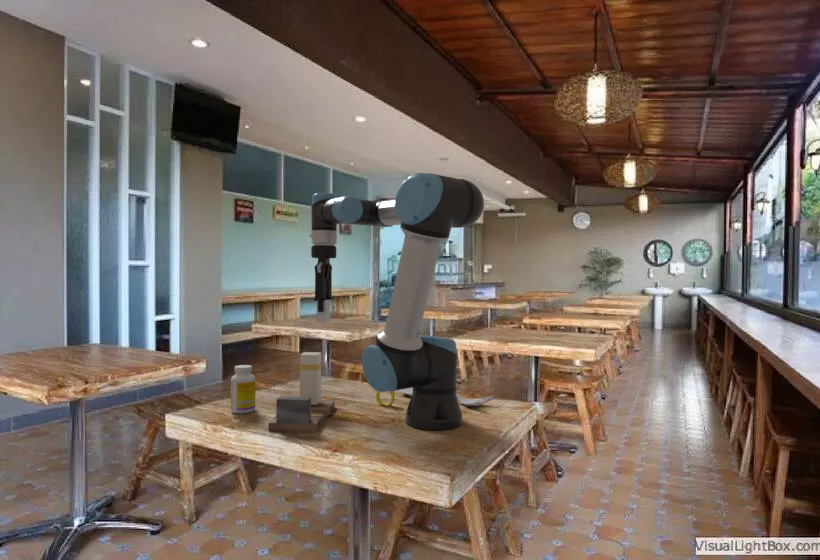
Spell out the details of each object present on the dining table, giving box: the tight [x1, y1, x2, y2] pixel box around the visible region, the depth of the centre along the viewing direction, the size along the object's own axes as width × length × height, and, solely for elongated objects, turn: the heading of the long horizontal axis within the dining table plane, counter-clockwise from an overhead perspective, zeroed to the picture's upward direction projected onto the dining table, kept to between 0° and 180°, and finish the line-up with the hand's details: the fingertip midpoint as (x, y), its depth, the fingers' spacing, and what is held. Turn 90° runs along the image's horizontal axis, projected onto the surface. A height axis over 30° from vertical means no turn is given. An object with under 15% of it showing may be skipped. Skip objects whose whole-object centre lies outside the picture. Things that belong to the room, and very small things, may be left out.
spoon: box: [399, 387, 495, 407], centre depth 163 cm, size 9×32×4 cm, turn 53°
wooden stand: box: [267, 395, 336, 433], centre depth 142 cm, size 24×12×8 cm, turn 177°
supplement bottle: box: [230, 364, 256, 415], centre depth 148 cm, size 7×7×13 cm
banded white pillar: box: [298, 351, 323, 405], centre depth 149 cm, size 5×5×14 cm
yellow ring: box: [375, 391, 396, 407], centre depth 157 cm, size 6×3×6 cm, turn 58°
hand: (323, 321), depth 158 cm, fingers open, 5 cm apart
